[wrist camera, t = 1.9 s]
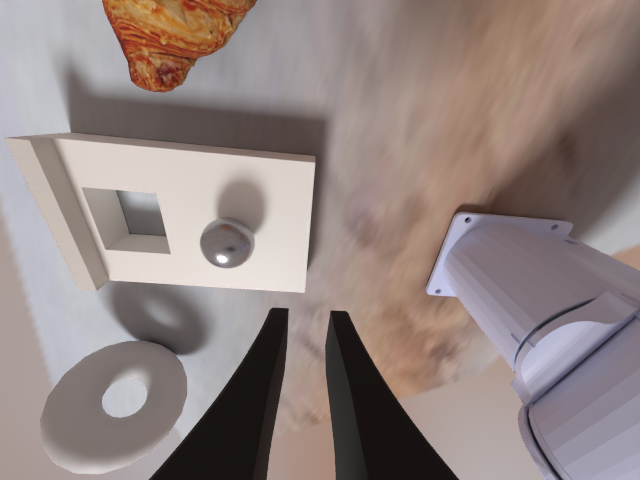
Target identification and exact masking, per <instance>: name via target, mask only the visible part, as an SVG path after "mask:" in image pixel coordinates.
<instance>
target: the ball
mask: <svg viewBox="0 0 640 480" xmlns="http://www.w3.org/2000/svg"><path fill="white" fill-rule="evenodd" d="M254 248H255V238H254V234H253V232H252V230H251V229H250V227H249V226H248V225H247V224H246V223H245V222H243V221H241V220H239V219H237V218H233V217H222V218H218V219H216V220H214V221H212V222H210V223H209V224H208V225H207V226H206V227H205V228H204V230H203V232H202V234H201V237H200V249H201V252H202V254H203V256H204V257H205V259H206V260H207V261H208V262H209V263H211V264H212V265H214V266H216V267H219V268H225V269H229V268H235V267H238V266H240V265H242V264H244V263H245V262H246V261H247V260H248V259H249V258H250V257H251V255H252V253H253V251H254Z"/></svg>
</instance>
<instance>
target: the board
mask: <svg viewBox="0 0 640 480" xmlns="http://www.w3.org/2000/svg"><path fill="white" fill-rule="evenodd" d="M5 140H6V142H7V144H8V146H9V148H10V150H11V152H12V154H13V156H14V158H15V160H16V162H17V164H18V166H19V169H20V171H21V173H22V175H23V177H24V179H25V181H26V183H27V185H28V187H29V189H30V191H31V193H32V195H33V197H34V199H35V201H36V203H37V205H38V207H39V209H40V211H41V213H42V215H43V217H44V219H45V221H46V223H47V225H48V227H49V229H50V231H51V233H52V236H53V238H54V240H55V242H56V244H57V246H58V248H59V250H60V252H61V254H62V256H63V258H64V260H65V262H66V264H67V266H68V268H69V270H70V272H71V274H72V276H73V278H74V280H75V282H76V284H77V286H78V288H79V290H92V291H97V290H98V289H100V288H101V287H102V286H103V285H105V284H106V283H107V282H108V281H109V280H113V281H129V282H144V283H160V284H176V285H191V286H207V287H223V288H238V289H254V290H270V291H285V292H301V293H305V283H306V271H307V259H308V246H309V234H310V222H311V210H312V197H313V185H314V173H315V156H310V155H300V154H290V153H279V152H269V151H258V150H248V149H238V148H227V147H217V146H206V145H196V144H185V143H175V142H165V141H154V140H144V139H133V138H123V137H113V136H102V135H92V134H81V133H71V132H69V133H57V134H45V135H33V136H21V137H9V138H5ZM116 190H122V191H134V192H146V193H157V197H158V202H159V206H160V210H161V214H162V218H163V223H164V227H165V231H166V235H167V236H153V235H140V234H130V233H129V230H128V227H127V223H126V220H125V217H124V214H123V211H122V208H121V205H120V201H119V198H118V195H117V192H116ZM222 217H233V218H237V219H239V220H241V221H243V222H245V223H246V224H247V225H248V226H249V227H250V229H251V230H252V232H253V234H254V238H255V248H254V251H253V253H252V255H251V257H250V258H249V259H248V260H247V261H246V262H245V263H244V264H242V265H240V266H238V267H235V268H229V269H225V268H219V267H216V266H214V265H212V264H211V263H209V262H208V261H207V260H206V259H205V257H204V256H203V254H202V252H201V249H200V237H201V234H202V232H203V230H204V228H205V227H206V226H207V225H208V224H209V223H210V222H212V221H214V220H216V219H218V218H222Z"/></svg>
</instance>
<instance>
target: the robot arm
mask: <svg viewBox="0 0 640 480" xmlns="http://www.w3.org/2000/svg"><path fill="white" fill-rule="evenodd" d="M467 217H469V219H468V220H467V221H465V219H466V218H467ZM552 226H553V227H552ZM572 228H573V224H572V223H571V222H568V221H563V220H551V219H539V218H528V217H516V216H504V215H493V214H481V213H470V212H459V213H457V214H455V216H454V217H453V220H452V222H451V225H450V227H449V230H448V233H447V235H446V238H445V240H444V243H443V245H442V248H441V251H440V253H439V256H438V258H437V261H436V264H435V266H434V269H433V271H432V274H431V276H430V279H429V282H428V284H427V287H426V292H427V293H428V294H429V295H440V296H455V297H458V299H459V300H460V301H461V303H462V304H463V305H464V307H465V308H466V309H467V310H468V312H469V313H470V314H471V316H472V317H473V318H474V320H475V321H476V322H477V324H478V325H479V326H480V328H481V329H482V330H483V332H484V333H485V334H486V335H487V337H488V338H489V339H490V341H491V342H492V343H493V345H494V346H495V347H496V349H497V350H498V351H499V353H500V354H501V355H502V356H503V358H504V359H505V360H506V362H507V363H508V364H509V366H510V367H511V368H512V370H513V371H514V372H515V373H516V376H515V378H514V380H513V381H512V382H511V384H510V385H511V387H512V388H513V390H514V391H515V392H516V394H517V395H518V397H519V398H520V399H521V401H522V402H523V405H522V406H521V408H520V410H519V414H518V424H519V429H520V433H521V436H522V439H523V441H524V444H525V446H526V448H527V450H528V452H529V454H530V456H531V458H532V460H533V462H534V463H535V465H536V467H537V468H538V470H539V471H540V473H541V474H542V476H543V478H544V479H545V480H640V271H639V270H637V269H635V268H633V267H631V266H629V265H626V264H625V263H623V262H621V261H619V260H617V259H614V258H612V257H610V256H608V255H606V254H604V253H602V252H600V251H598V250H596V249H594V248H592V247H590V246H588V245H586V244H584V243H582V242H580V241H578V240H576V239H574V238H572V237H570V236H568V234H569V233H570V231H571V230H572ZM437 289H439V290H437ZM436 290H437V291H436ZM288 311H289V308H272V309H270V311H269V313H268V316H267V318H266V320H265V322H264V324H263V326H262V328H261V330H260V332H259V334H258V336H257V337H256V339H255V341H254V343H253V344H252V346H251V348H250V349H249V351H248V353H247V354H246V356H245V358H244V359H243V361H242V362H241V364H240V365H239V367H238V368H237V370H236V371H235V373H234V374H233V376H232V377H231V379H230V380H229V382H228V383H227V384H226V386H225V387H224V389H223V390H222V391H221V393H220V394H219V396H218V397H217V398H216V400H215V401H214V402H213V404H212V405H211V406H210V407H209V409H208V410H207V411H206V413H205V414H204V415H203V417H202V418H201V419H200V420H199V422H198V423H197V424H196V425H195V426H194V428H193V429H192V430H191V431H190V433H189V434H188V435H187V436H186V437H185V439H184V440H183V441H182V442H181V444H180V445H179V446H178V447H177V448H176V450H175V451H174V452H173V453H172V454H171V455H170V456H169V458H168V459H167V460H166V461H165V462H164V463H163V465H162V466H161V467H160V468H159V469H158V470H157V471H156V472H155V473H154V474H153V476H152V477H151V478H150V479H149V480H266V479H267V471H268V461H269V453H270V448H271V441H272V435H273V430H274V425H275V419H276V414H277V409H278V403H279V398H280V393H281V387H282V382H283V376H284V371H285V361H286V350H287V335H288ZM325 351H326V378H327V386H328V395H329V404H330V412H331V421H332V430H333V438H334V450H335V467H336V480H459V479H458V478H457V477H456V475H455V474H454V473H453V472H452V470H451V469H450V468H449V467H448V466H447V464H446V463H445V462H444V461H443V460H442V458H441V457H440V456H439V455H438V454H437V452H436V451H435V450H434V449H433V447H432V446H431V445H430V444H429V443H428V442H427V440H426V439H425V437H424V436H423V435H422V433H421V432H420V431H419V429H418V428H417V427H416V426H415V424H414V423H413V421H412V420H411V419H410V417H409V416H408V415H407V413H406V412H405V411H404V409H403V408H402V406H401V405H400V403H399V402H398V400H397V399H396V397H395V396H394V394H393V393H392V391H391V390H390V388H389V387H388V385H387V384H386V382H385V381H384V379H383V378H382V376H381V374H380V373H379V371H378V369H377V368H376V366H375V364H374V363H373V361H372V359H371V357H370V356H369V354H368V352H367V350H366V349H365V347H364V345H363V343H362V341H361V339H360V337H359V335H358V333H357V331H356V329H355V327H354V325H353V323H352V321H351V318H350V316H349V314H348V313H347V312H346V311H331V313H330V319H329V326H328V332H327V338H326V345H325Z"/></svg>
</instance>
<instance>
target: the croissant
mask: <svg viewBox="0 0 640 480" xmlns="http://www.w3.org/2000/svg"><path fill="white" fill-rule="evenodd" d="M256 1H257V0H102V2H103V6H104V10H105V14H106V16H107V18H108V20H109V22H110V24H111V26H112V28H113V30H114V32H115V35H116V37H117V39H118V41H119V43H120V46H121V48H122V50H123V53H124V55H125V57H126V59H127V61H128V66H129V73H130V77H131V81H132V82H133V83H134V84H135V85H136V86H138V87H141V88H143V89H146V90H149V91H153V92H163V93H164V92H168V91H172V90H173V89H174V88H175V87H177V86H180V85H182V84H183V82H184V81H185V79H186V76H187V74H188V71H189V70H190V68H191V67H192V66H194V65H195V62H196V60H197V58H199V57H202V56H206V55H210V54H212V53H214V52H215V51H217V50H219V49H220V48H222V47H224V46H225V45H226V44H227V42H228V41H229V39H230V38H231V36H232V35H233V34H234V33H235V32H236V30H237V28H238V25H239V24H240V22H241V21H242V19H243V18H244V17H245V15H246V13H247V11H249V10H250V9H251V8H252V7H253V6H254V5H255V3H256Z"/></svg>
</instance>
